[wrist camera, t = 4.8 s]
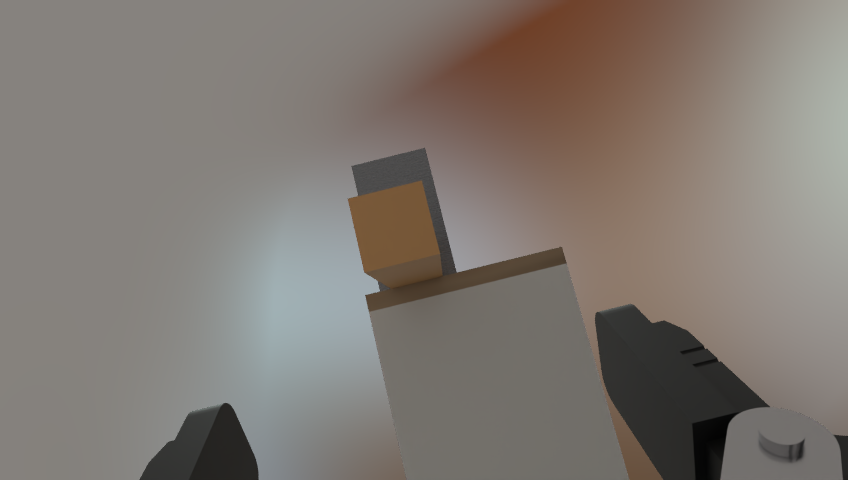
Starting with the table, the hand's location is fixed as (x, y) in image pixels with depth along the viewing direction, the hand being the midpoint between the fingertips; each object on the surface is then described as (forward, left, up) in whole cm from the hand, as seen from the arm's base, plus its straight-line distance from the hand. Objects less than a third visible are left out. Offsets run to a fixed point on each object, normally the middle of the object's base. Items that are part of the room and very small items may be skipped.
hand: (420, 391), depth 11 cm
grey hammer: (+6, -11, +3) cm, 13 cm away
